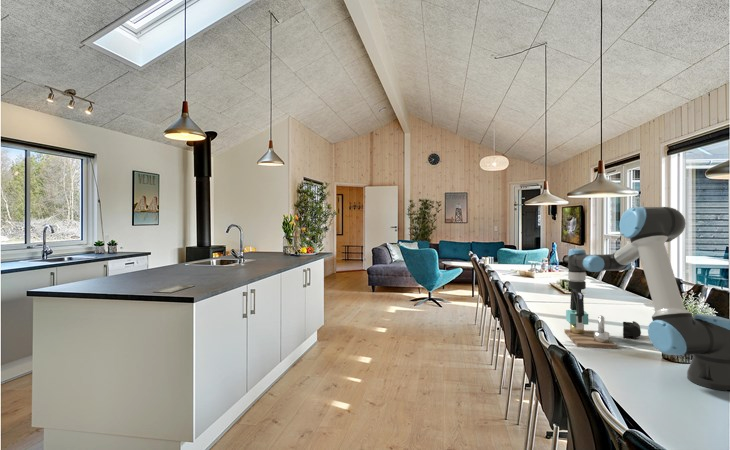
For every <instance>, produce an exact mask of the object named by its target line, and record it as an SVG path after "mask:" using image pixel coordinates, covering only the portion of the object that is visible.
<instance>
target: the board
mask: <svg viewBox="0 0 730 450" xmlns="http://www.w3.org/2000/svg"><path fill="white" fill-rule="evenodd" d="M563 331H564V333H565V335H566V336H567V337H568V338H569V339H570V341H571V342H572V343H573V344H574V345H575V346H576V347H579V348H581V347H582V348H595V349H596V348H597V349H611V348H612V349H613V350H616V349H617V347H618V345H617V344H616V343H615V342H613V341H612V339H610V338H609V343H599V342H595V341H594V331H595V330H591V329H590V330H589V329H588V330H587V329H584V334H573V333H571V332H570V328H568V329H564V330H563ZM612 349H611V350H612Z"/></svg>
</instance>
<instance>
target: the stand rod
mask: <svg viewBox="0 0 730 450" xmlns="http://www.w3.org/2000/svg"><path fill="white" fill-rule="evenodd" d="M597 322H598V323H597V326H598V327H597V330H593V331H594V341H595V342H599V343H609V339H610V333H609V332H608V331H605V316H604V315H599V316H598V321H597Z"/></svg>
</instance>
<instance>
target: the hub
mask: <svg viewBox="0 0 730 450" xmlns="http://www.w3.org/2000/svg"><path fill="white" fill-rule="evenodd" d="M575 313H577V312H575ZM569 329H570V332H571V333H573V334H584V330H585V325H584V324H583V330H581V329H576V324H570V323H569Z"/></svg>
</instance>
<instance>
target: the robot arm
mask: <svg viewBox="0 0 730 450" xmlns="http://www.w3.org/2000/svg"><path fill="white" fill-rule="evenodd" d="M686 225H687V223H686V219H685V216H684V215H683V214H682V213H681V211H679V210H678V209H676V208H674V207H670V206H644V207H643V206H638V207H637V206H635V207H631V208H628V209H626V210H625V211H624V212H623V213H622V215H621V217H620V220H619V232H620V234H621V235H622V236H623V237H624V238H626V239H629V242H628V243H626V244H624V245H623V246H622V247H621V248H619V249H617V250H616V251H614V252H613V253H612V254H610V253H609V254H587V253H586V252H587V251H586V250H585V248H570V249H568V255H567V259H568V261H567V263H568V266H567V267H568V271H567V273H568V274H567V275H568V278H567V279H568V285H567V286H568V288H569V289H570V307H569V308H570V309H569V310H576V311H577V314H576V315H575V316H576V329H581V330H583V325H584V324H583V316H584V311H585V306H584V305H585V304H584V297H585V294H583V292H582V290H586V287H587V286H586V285H587V283H586V277H587V275H588V274H587V272H590V273H593V272H594V273H598V272H604V271H605V272H606V271H620V272H622V271H627V270H629V269H630V268H631V266H632V264H633V262H634V261H636V260H638V259H640V261H641V266H642V270H643V273H644V276H645V279H646V283H647V287H648V290H649V294H650V297H651V301H652V305H653V308H654V313H653V314H652V316H651V319H652V321H651V322H650V323H649V324H648V328H647V334H648V338H649V340H650V342H651V344H652V345H653V346H654V347H655V349H656V350H658V351H659V352H661V353H662V354H664V355H669V356H683V355H684V356H686V355H687V356H688V355H689V356H690V355H693V357H692V360H691V362H690V364H689V367H688V369H687V372H686V378H687V380H688V381H690V382H692V383H693V384H696V385H698V386H701V387H705V388H709V389H712V390H716V391H717V390H719V391H725V392H726V391H727V390H730V319H729V318H725V317H722V316H717V315H710V314H703V313H695V314H694V315H693V314H692V312H691V311H689V310H688V309H686V308H685V306H684V303H683V300H682V296H681V293H680V290H679V289H680V288H679V286H678V284H677V280H676V277H675V274H674V270H673V267H672V263H671V259H670V257H669V254H668V251H667V247H666V244H665V243H670V242H672V241H674V240H675V239H677V238H679V236H680V235H681V234H682V233H683V232H684V231H685V228H686ZM586 271H587V272H586ZM727 392H728V391H727Z"/></svg>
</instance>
